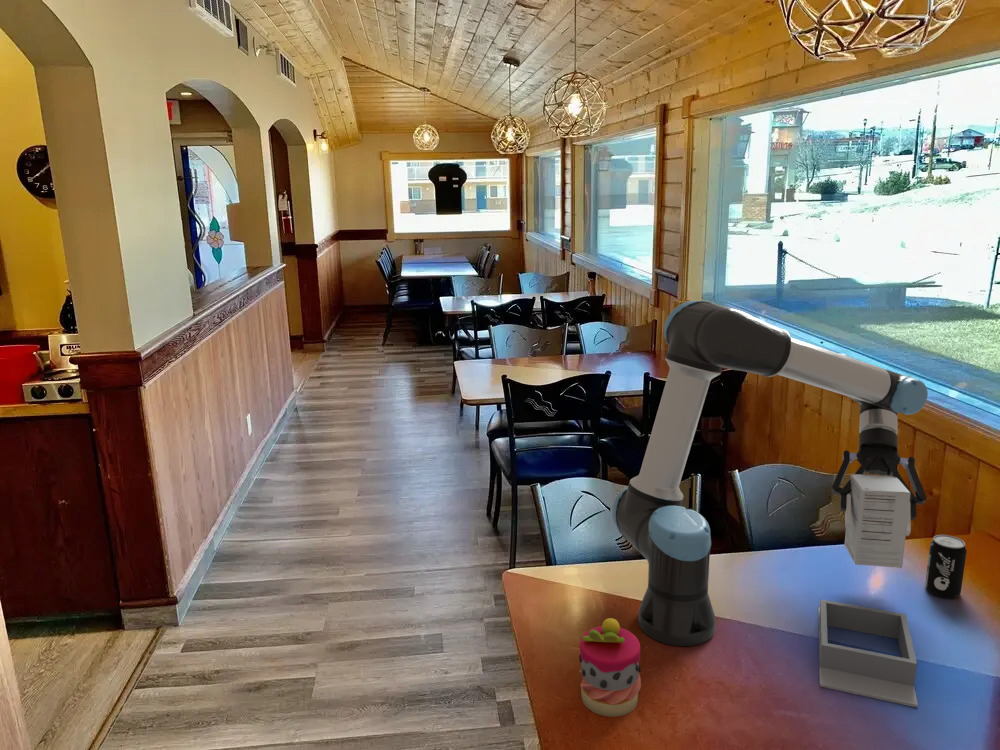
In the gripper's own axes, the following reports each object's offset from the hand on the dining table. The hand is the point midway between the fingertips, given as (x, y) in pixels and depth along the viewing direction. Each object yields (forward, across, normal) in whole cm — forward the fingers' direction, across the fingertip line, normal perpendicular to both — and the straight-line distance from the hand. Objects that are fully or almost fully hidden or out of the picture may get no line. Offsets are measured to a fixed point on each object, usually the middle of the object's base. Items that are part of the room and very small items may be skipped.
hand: (877, 529), depth 147 cm
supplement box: (+3, 0, -8) cm, 8 cm away
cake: (+46, +44, +24) cm, 68 cm away
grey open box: (+26, +2, +3) cm, 26 cm away
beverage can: (+6, -14, -18) cm, 23 cm away
